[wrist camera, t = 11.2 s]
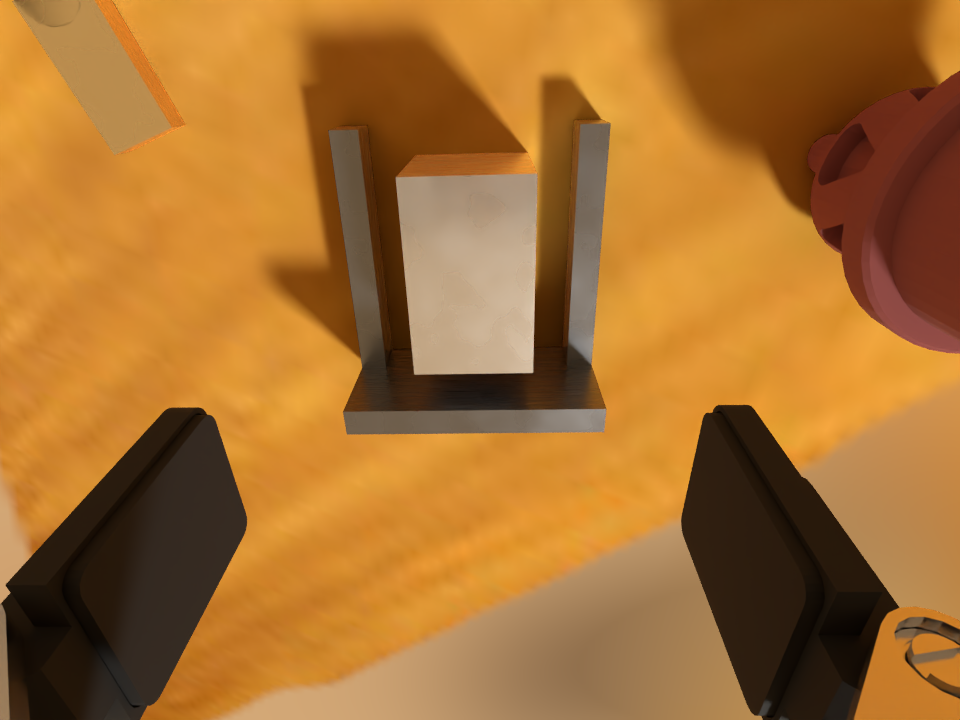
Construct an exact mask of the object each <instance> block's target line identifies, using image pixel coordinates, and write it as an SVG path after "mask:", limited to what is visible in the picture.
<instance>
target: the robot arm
mask: <svg viewBox="0 0 960 720" xmlns="http://www.w3.org/2000/svg"><path fill="white" fill-rule="evenodd" d="M681 525H682V532H683V536H684V539H685V542H686V544H687V547H688V549H689V552H690V555H691V557H692V560H693V563H694V565H695V568H696V571H697V573H698V576H699V579H700V581H701V584H702V587H703V589H704V592H705V594H706V597H707V600H708V602H709V605H710V607H711V610H712V613H713V615H714V618H715V621H716V624H717V626H718V629H719V632H720V634H721V637H722V639H723V642H724V645H725V647H726V650H727V652H728V655H729V658H730V661H731V663H732V666H733V669H734V671H735V674H736V676H737V679H738V682H739V684H740V687H741V690H742V692H743V695H744V698H745V700H746V703H747V705H748V707H749V709H750V711H751V712H752V713H753V714H754V715H757V716H758V715H760V716H762V718H763V720H960V621H959V620H957V619H955V618H953V617H951V616H948V615H945V614H943V613H940V612H937V611H935V610H930V609H925V608H919V607H904V608H899V606H898V605H897V603H896V602H895V601H894V599H893V598H892V596H891V595H890V594H889V592H888V591H887V589H886V588H885V587H884V585H883V584H882V582H881V581H880V580H879V578H878V577H877V575H876V574H875V573H874V571H873V570H872V569H871V567H870V566H869V564H868V563H867V561H866V560H865V559H864V557H863V556H862V555H861V553H860V552H859V550H858V549H857V548H856V546H855V545H854V543H853V542H852V540H851V539H850V538H849V536H848V535H847V533H846V532H845V531H844V529H843V528H842V526H841V525H840V524H839V522H838V521H837V519H836V518H835V517H834V515H833V514H832V512H831V511H830V510H829V508H828V507H827V505H826V504H825V503H824V501H823V500H822V498H821V497H820V496H819V494H818V493H817V492H816V490H815V489H814V488H813V486H812V485H811V484H810V483H809V482H808V480H807V479H805V478H803V477H801V475H800V474H799V472H798V471H797V470H796V468H795V467H794V465H793V464H792V462H791V461H790V460H789V458H788V457H787V455H786V454H785V452H784V451H783V450H782V448H781V447H780V445H779V444H778V443H777V441H776V440H775V438H774V437H773V435H772V434H771V433H770V431H769V430H768V428H767V427H766V426H765V424H764V423H763V421H762V420H761V418H760V417H759V416H758V414H757V413H756V411H755V410H754V409H753V408H752V407H751V406H749V405H718V406H716V407H715V408H714V410H713V413H706V414H705V415H704V417H703V421H702V425H701V430H700V435H699V439H698V444H697V448H696V453H695V458H694V462H693V467H692V471H691V476H690V481H689V485H688V490H687V494H686V499H685V503H684V508H683V513H682V519H681ZM246 526H247V516H246V512H245V509H244V506H243V503H242V500H241V497H240V494H239V491H238V488H237V485H236V482H235V479H234V476H233V473H232V470H231V467H230V464H229V461H228V458H227V454H226V451H225V448H224V445H223V442H222V439H221V436H220V433H219V430H218V427H217V424H216V421H215V419H214V418H213V417H212V416H211V415H207V414H206V412H205V411H204V410H203V409H202V408H168V409H167V410H165V411H164V412H163V413H162V414H161V415H160V416H159V418H158V419H157V420H156V421H155V422H154V423H153V424H152V425H151V426H150V427H149V428H148V430H147V431H146V432H145V433H144V434H143V435H142V436H141V437H140V438H139V439H138V441H137V442H136V443H135V444H134V445H133V446H132V447H131V448H130V449H129V450H128V451H127V453H126V454H125V455H124V456H123V457H122V458H121V459H120V460H119V461H118V462H117V463H116V465H115V466H114V467H113V468H112V469H111V470H110V471H109V472H108V473H107V474H106V476H105V477H104V478H103V479H102V480H101V481H100V482H99V483H98V484H97V485H96V486H95V488H94V489H93V490H92V491H91V492H90V493H89V494H88V495H87V496H86V497H85V498H84V500H83V501H82V502H81V503H80V504H79V505H78V506H77V507H76V508H75V509H74V511H73V512H72V513H71V514H70V515H69V516H68V517H67V518H66V519H65V520H64V521H63V523H62V524H61V525H60V526H59V527H58V528H57V529H56V530H55V531H54V532H53V533H52V535H51V536H50V537H49V538H48V539H47V540H46V541H45V542H44V543H43V544H42V546H41V547H40V548H39V549H38V550H37V551H36V552H35V553H34V554H33V555H32V556H31V558H30V559H29V560H28V561H27V562H26V563H25V564H24V565H23V566H22V567H21V569H20V570H19V571H18V572H17V573H16V574H15V575H14V576H13V577H12V578H11V579H10V581H9V582H8V583H7V584H6V587H7V588H8V590H9V591H10V592H11V593H10V594H9V595H8V597H7V598H6V599H5V600H4V601H3V602H2V603H1V604H0V720H140V719H141V717H142V715H143V713H144V711H145V709H146V707H147V705H148V706H150V705H152V704H154V703H155V702H156V701H157V700H158V698H159V697H160V695H161V694H162V692H163V690H164V688H165V686H166V684H167V682H168V680H169V678H170V676H171V674H172V672H173V670H174V669H175V667H176V665H177V663H178V661H179V659H180V657H181V655H182V653H183V651H184V649H185V647H186V645H187V644H188V642H189V640H190V638H191V636H192V634H193V632H194V630H195V628H196V626H197V624H198V622H199V620H200V619H201V617H202V615H203V613H204V611H205V609H206V607H207V605H208V603H209V601H210V599H211V597H212V595H213V594H214V592H215V590H216V588H217V586H218V584H219V582H220V580H221V578H222V576H223V574H224V572H225V570H226V569H227V567H228V565H229V563H230V561H231V559H232V557H233V555H234V553H235V551H236V549H237V547H238V545H239V544H240V542H241V540H242V538H243V536H244V534H245V531H246Z"/></svg>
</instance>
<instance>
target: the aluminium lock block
mask: <svg viewBox="0 0 960 720" xmlns="http://www.w3.org/2000/svg"><path fill="white" fill-rule="evenodd" d="M396 186H397V197H398V208H399V218H400V229H401V239H402V250H403V261H404V271H405V282H406V292H407V303H408V313H409V324H410V335H411V345H412V356H413V366H414V375H423V374H493V373H533V357H534V310H535V263H536V216H537V172H536V170H535V167H534V165H533V163H532V161H531V159H530V156H529V154H528V152H511V153H472V154H433V155H415V157H414V158H413V159H412V160H411V161H410V162H409V163H408V164H407V165H406V166H405V167H404V169H403V170H402V171H401V172H400V173H399V174H398V175H397V176H396Z"/></svg>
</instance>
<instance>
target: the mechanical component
mask: <svg viewBox="0 0 960 720" xmlns="http://www.w3.org/2000/svg"><path fill="white" fill-rule="evenodd" d="M807 161H808V166H809V168H810V169H811V170H812V171H813V172H814V173H816V174H815V177H814V180H813V185H812V191H811V213H812V218H813V222H814V225H815V227H816V229H817V231H818V233H819V235H820V236H821V237H822V239H823V240H824V241H825V243H826V244H828V245H829V246H830V247H831V248H833V249H834V250H835V251H837V252H839V253H841V254H842V262H843V268H844V273H845V277H846V280H847V282H848V285H849V288H850V290H851V292H852V294H853V296H854V297H855V299H856V300H857V302H858V303H859V305H860V306H861V307H862V308H863V309H864V310H865V311H866V312H867V313H868V315H869V316H870V317H872V318H873V319H874V320H876V321H877V322H879V323H880V324H882V325H883V326H885V327H886V328H888V329H889V330H891V331H892V332H894V333H895V334H897V335H898V336H900V337H902V338H903V339H905V340H907V341H909V342H911V343H913V344H915V345H918V346H921V347H924V348H927V349H929V350H934V351H940V352H946V353H960V71H959V72H957V73H955V74H954V75H952V76H950V77H949V78H948V79H946V80H945V81H944V82H942V83H941V84H940V85H938V86H937V87H922V88H913V89H908V90H905V91H901V92H898V93H895V94H892V95H890V96H888V97H886V98H884V99H882V100H879V101H877V102H876V103H874V104H873V105H871V106H870V107H868V108H867V109H865V110H863V111H862V112H861V113H860V114H858V115H857V116H856V117H855V118H854V119H853V120H851V121H850V122H849V123H848V124H847V125H846V126H845V127H844V128H843V129H842V131H841V132H840V133H839V134H838V135H836V134H830V135H825V136H823V137H821V138H820V139H818V140H817V141H816V142H815V143H814V144H813V146H812V147H811V148H810V151H809V153H808V158H807Z"/></svg>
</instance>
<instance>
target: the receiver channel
mask: <svg viewBox="0 0 960 720" xmlns="http://www.w3.org/2000/svg"><path fill="white" fill-rule="evenodd" d="M610 124H611V123H609V122H606V121H604V120H602V119H597V120H574V127H573V147H572V166H571V186H570V206H569V225H568V245H567V265H566V285H565V304H564V324H563V344H562V347H534V357H533V373H493V374H423V375H414V366H413V356H412V349H393V348H392V340H391V331H390V322H389V313H388V304H387V295H386V286H385V277H384V268H383V259H382V250H381V241H380V232H379V223H378V214H377V205H376V196H375V187H374V178H373V169H372V160H371V151H370V142H369V133H368V125H362V126H339V127H336V128H334V129H331V130H328V131H329V138H330V145H331V152H332V159H333V166H334V173H335V180H336V187H337V194H338V201H339V208H340V215H341V222H342V229H343V236H344V243H345V250H346V257H347V264H348V271H349V278H350V285H351V292H352V299H353V306H354V313H355V320H356V327H357V334H358V341H359V348H360V355H361V362H362V370H361V372H360V374H359V377H358V379H357V381H356V383H355V386H354V388H353V390H352V393H351V395H350V397H349V400H348V402H347V404H346V406H345V409H344V411H343V414H344V420H345V426H346V432H347V434H442V433H549V432H604V427H605V417H606V407H605V404H604V401H603V398H602V395H601V392H600V389H599V386H598V383H597V380H596V377H595V374H594V371H593V368H592V365H591V362H592V350H593V337H594V325H595V312H596V299H597V287H598V274H599V262H600V249H601V237H602V224H603V212H604V199H605V187H606V174H607V162H608V149H609V137H610Z"/></svg>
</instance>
